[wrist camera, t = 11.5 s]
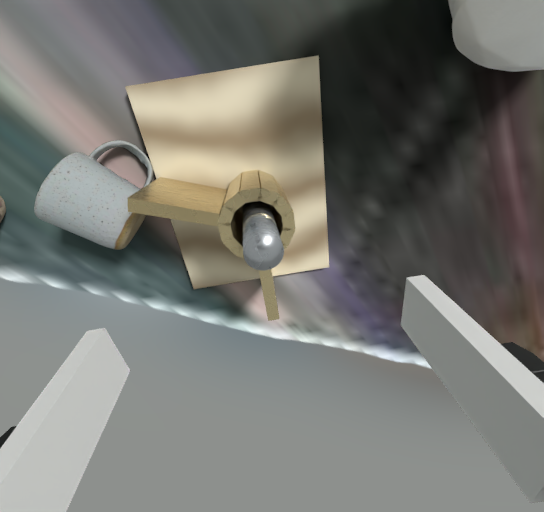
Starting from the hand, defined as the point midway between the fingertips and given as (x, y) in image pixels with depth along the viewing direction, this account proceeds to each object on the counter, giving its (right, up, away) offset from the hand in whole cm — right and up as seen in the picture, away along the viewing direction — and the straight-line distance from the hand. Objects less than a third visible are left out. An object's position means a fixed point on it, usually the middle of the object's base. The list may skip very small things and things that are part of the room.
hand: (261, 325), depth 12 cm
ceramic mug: (-17, +11, +19) cm, 28 cm away
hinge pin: (-2, +10, +20) cm, 22 cm away
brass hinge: (-5, +6, +21) cm, 23 cm away
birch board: (-3, +11, +20) cm, 23 cm away
